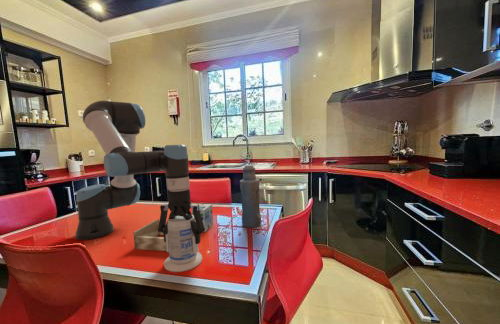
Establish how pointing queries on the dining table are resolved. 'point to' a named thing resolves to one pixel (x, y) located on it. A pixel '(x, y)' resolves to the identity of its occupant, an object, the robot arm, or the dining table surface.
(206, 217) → the light bulb box
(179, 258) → the supplement tub
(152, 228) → the shelf bay
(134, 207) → the dining table surface
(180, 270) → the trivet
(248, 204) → the bottle
